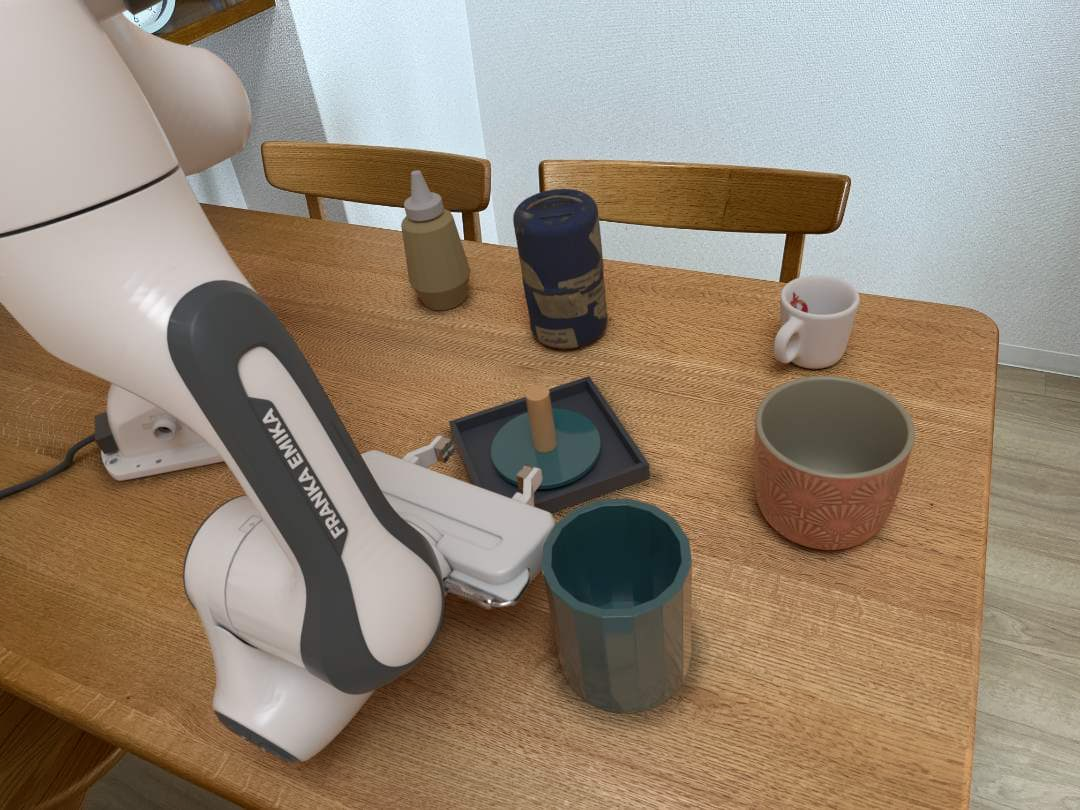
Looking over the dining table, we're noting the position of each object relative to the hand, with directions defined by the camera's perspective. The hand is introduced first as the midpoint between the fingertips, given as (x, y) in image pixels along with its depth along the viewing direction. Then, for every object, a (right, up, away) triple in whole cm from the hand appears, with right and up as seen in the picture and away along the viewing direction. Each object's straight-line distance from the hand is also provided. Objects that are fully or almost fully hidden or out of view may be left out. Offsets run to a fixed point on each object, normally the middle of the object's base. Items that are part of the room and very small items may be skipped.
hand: (490, 456), depth 73 cm
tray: (+5, -1, +10) cm, 11 cm away
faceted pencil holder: (+11, -15, -8) cm, 21 cm away
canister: (+8, +13, +26) cm, 31 cm away
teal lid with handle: (+5, 0, +9) cm, 11 cm away
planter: (+30, -5, +1) cm, 30 cm away
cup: (+34, +9, +17) cm, 39 cm away
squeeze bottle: (-8, +19, +35) cm, 41 cm away
